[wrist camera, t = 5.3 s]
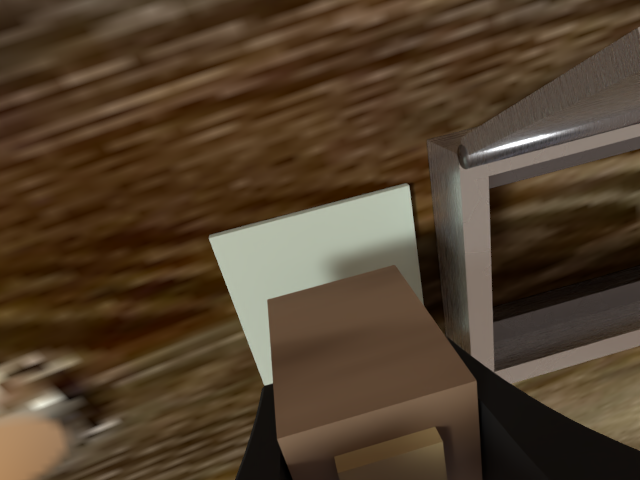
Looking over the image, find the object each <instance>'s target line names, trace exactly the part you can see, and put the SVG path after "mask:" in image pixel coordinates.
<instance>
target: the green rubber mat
mask: <svg viewBox="0 0 640 480" xmlns="http://www.w3.org/2000/svg"><path fill="white" fill-rule="evenodd" d="M209 240H210V243H211V245H212V248H213V251H214V253H215V256H216V259H217V261H218V264H219V266H220V269H221V272H222V274H223V277H224V280H225V282H226V285H227V288H228V290H229V293H230V296H231V298H232V301H233V303H234V306H235V309H236V311H237V314H238V317H239V319H240V322H241V325H242V327H243V330H244V333H245V335H246V338H247V340H248V343H249V346H250V348H251V351H252V354H253V356H254V359H255V362H256V364H257V367H258V370H259V372H260V375H261V377H262V380H263V383H264V385H269V384H272V383H273V375H272V361H271V347H270V333H269V319H268V305H267V300H268V299H271V298H275V297H279V296H282V295H286V294H290V293H293V292H297V291H301V290H304V289H308V288H312V287H315V286H319V285H323V284H326V283H330V282H333V281H337V280H341V279H344V278H348V277H352V276H355V275H359V274H363V273H366V272H370V271H374V270H377V269H381V268H384V267H388V266H392V265H395V266H396V267H397V268H398V270H399V271H400V273H401V274H402V275H403V277H404V278H405V280H406V281H407V283H408V284H409V285H410V287H411V288H412V290H413V291H414V293H415V294H416V295H417V297H418V298H419V300H420V301H421V302H422V304H423V305H424V302H423V294H422V286H421V278H420V270H419V261H418V253H417V245H416V237H415V229H414V220H413V212H412V204H411V196H410V188H409V185H408V184H407V183H405V184H402V185H398V186H394V187H390V188H386V189H383V190H379V191H375V192H371V193H367V194H364V195H360V196H356V197H352V198H348V199H345V200H341V201H337V202H333V203H329V204H326V205H322V206H318V207H314V208H310V209H307V210H303V211H299V212H295V213H291V214H288V215H284V216H280V217H276V218H272V219H269V220H265V221H261V222H257V223H253V224H250V225H246V226H242V227H238V228H234V229H231V230H227V231H223V232H219V233H216V234H212V235H209Z"/></svg>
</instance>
